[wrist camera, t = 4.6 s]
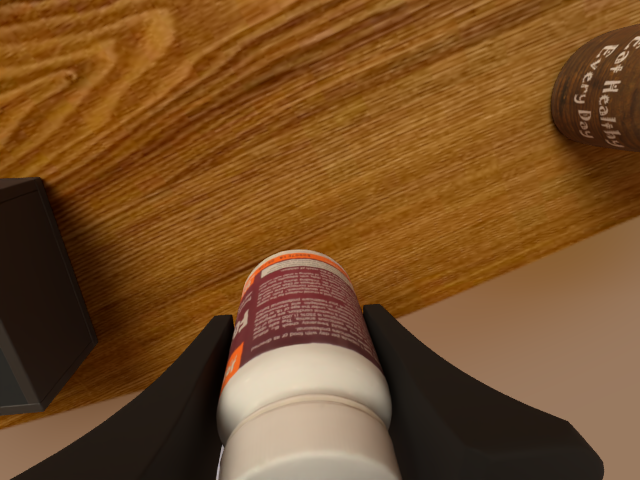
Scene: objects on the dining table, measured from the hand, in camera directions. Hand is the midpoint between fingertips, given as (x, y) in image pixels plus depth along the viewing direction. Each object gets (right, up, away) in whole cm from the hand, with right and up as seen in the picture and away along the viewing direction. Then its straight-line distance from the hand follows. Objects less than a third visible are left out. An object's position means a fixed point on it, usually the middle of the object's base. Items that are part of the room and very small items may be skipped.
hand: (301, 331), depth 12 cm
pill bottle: (0, +1, +2) cm, 3 cm away
